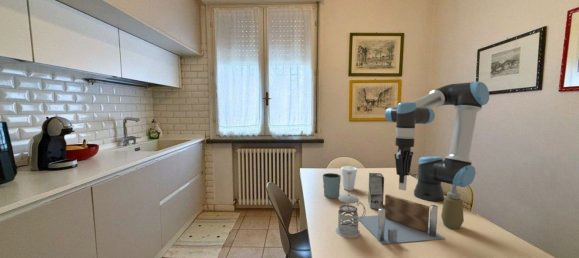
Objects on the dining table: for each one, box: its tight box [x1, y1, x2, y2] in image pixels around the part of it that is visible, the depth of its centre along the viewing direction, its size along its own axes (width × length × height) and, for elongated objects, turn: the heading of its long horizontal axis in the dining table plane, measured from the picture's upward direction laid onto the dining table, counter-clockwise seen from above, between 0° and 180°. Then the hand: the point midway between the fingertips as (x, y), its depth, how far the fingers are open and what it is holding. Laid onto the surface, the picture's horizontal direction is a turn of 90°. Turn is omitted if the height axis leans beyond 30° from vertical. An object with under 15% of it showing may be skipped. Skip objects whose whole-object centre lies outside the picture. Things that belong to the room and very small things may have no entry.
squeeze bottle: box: [440, 185, 465, 230], centre depth 104 cm, size 8×8×18 cm
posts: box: [376, 204, 439, 243], centre depth 94 cm, size 24×4×12 cm, turn 99°
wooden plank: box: [384, 193, 431, 232], centre depth 105 cm, size 18×2×10 cm, turn 39°
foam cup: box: [340, 165, 358, 191], centre depth 154 cm, size 10×9×13 cm
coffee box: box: [368, 172, 385, 210], centre depth 127 cm, size 9×6×16 cm
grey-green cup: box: [322, 172, 342, 199], centre depth 141 cm, size 10×10×12 cm
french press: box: [335, 171, 367, 239], centre depth 99 cm, size 10×12×25 cm
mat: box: [358, 214, 446, 245], centre depth 104 cm, size 26×23×1 cm
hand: (402, 189), depth 110 cm, fingers closed
